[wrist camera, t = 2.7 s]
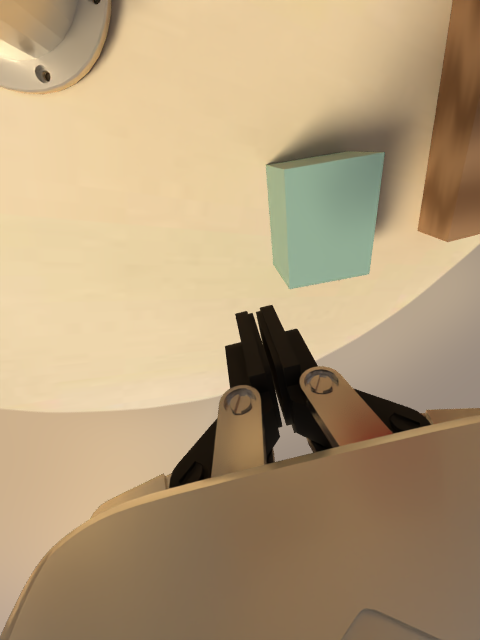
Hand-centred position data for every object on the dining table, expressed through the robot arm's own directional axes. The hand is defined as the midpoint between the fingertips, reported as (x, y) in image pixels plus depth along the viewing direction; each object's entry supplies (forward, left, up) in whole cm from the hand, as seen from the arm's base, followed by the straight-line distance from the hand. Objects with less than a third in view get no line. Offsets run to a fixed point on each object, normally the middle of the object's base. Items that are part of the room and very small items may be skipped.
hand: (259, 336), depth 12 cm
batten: (-6, +21, -16) cm, 27 cm away
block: (0, +8, -17) cm, 18 cm away
